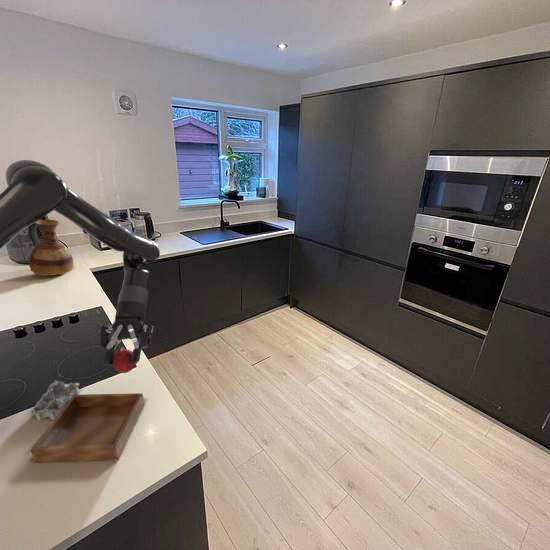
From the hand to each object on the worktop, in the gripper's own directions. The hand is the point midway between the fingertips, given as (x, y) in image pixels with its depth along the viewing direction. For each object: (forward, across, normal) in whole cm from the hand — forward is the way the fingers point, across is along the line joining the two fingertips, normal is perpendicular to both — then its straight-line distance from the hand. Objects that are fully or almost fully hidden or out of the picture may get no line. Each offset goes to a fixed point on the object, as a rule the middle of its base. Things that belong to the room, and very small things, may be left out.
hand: (121, 363), depth 77 cm
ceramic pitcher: (-58, -79, +74) cm, 123 cm away
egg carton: (+10, -17, +6) cm, 20 cm away
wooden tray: (+16, -3, -1) cm, 16 cm away
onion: (+2, 0, +4) cm, 5 cm away
